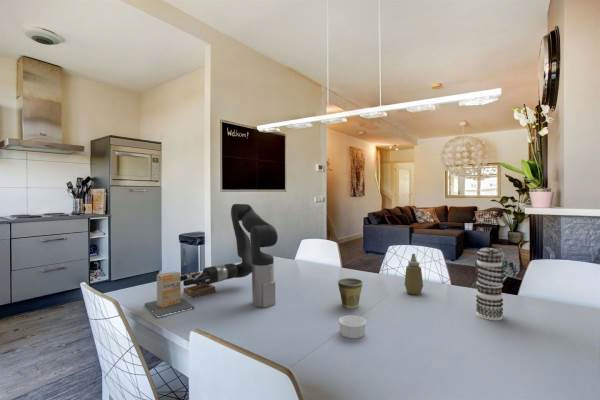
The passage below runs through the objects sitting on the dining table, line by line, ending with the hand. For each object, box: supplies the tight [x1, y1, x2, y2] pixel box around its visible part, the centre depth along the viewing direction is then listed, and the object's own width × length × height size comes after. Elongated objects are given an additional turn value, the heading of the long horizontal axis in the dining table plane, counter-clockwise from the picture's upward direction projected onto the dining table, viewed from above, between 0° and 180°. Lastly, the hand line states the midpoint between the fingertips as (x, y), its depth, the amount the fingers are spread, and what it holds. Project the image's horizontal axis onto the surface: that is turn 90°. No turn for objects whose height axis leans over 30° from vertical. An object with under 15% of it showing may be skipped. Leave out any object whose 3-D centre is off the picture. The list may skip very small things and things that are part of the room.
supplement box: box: [156, 270, 182, 308], centre depth 127 cm, size 8×5×13 cm, turn 139°
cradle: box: [183, 284, 216, 298], centre depth 145 cm, size 9×12×2 cm
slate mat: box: [144, 297, 195, 316], centre depth 127 cm, size 18×14×1 cm
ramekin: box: [338, 315, 367, 339], centre depth 101 cm, size 9×9×4 cm
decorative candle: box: [474, 247, 505, 321], centre depth 113 cm, size 9×9×25 cm
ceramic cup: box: [337, 277, 363, 310], centre depth 127 cm, size 13×10×10 cm
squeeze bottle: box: [404, 253, 424, 295], centre depth 140 cm, size 8×8×18 cm
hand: (179, 281), depth 129 cm, fingers open, 8 cm apart
